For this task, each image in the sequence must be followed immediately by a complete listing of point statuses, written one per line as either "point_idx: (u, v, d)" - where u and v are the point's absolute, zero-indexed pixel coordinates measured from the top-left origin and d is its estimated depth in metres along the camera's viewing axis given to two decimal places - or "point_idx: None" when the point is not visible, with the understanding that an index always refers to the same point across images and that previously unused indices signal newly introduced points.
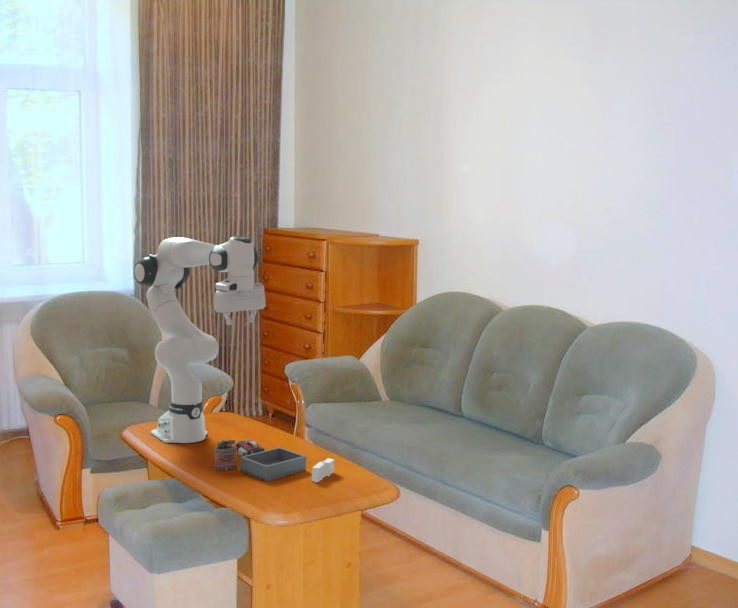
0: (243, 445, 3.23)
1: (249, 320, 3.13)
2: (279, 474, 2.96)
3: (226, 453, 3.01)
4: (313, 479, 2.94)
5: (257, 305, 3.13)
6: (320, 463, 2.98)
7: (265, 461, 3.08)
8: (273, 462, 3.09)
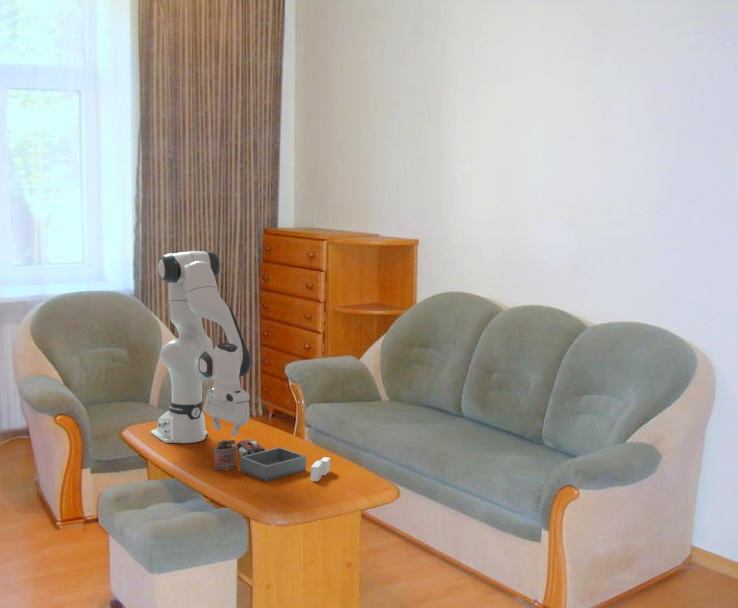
0: (244, 445, 3.23)
1: (219, 427, 3.04)
2: (279, 474, 2.96)
3: (226, 453, 3.01)
4: (312, 478, 2.95)
5: None
6: (317, 462, 2.99)
7: (265, 461, 3.08)
8: (273, 462, 3.09)
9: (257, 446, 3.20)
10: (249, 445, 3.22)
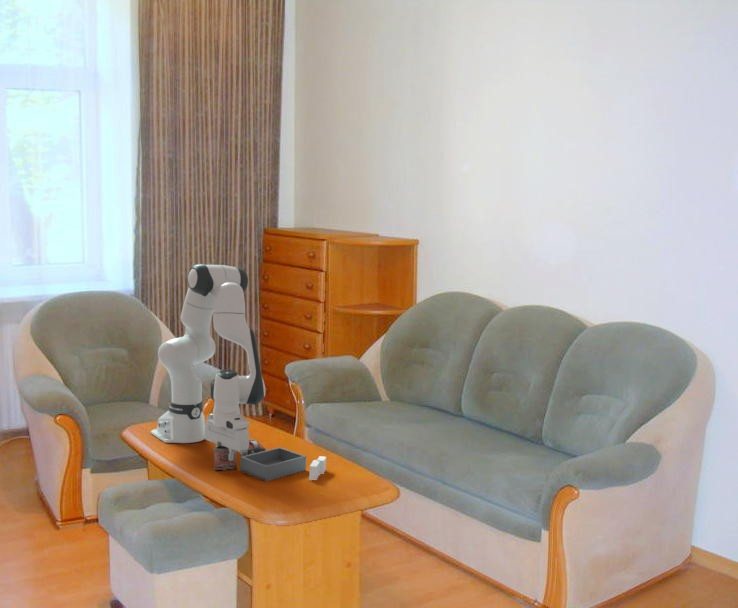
0: None
1: None
2: (279, 474, 2.96)
3: (226, 453, 3.01)
4: (311, 477, 2.95)
5: None
6: (315, 461, 3.00)
7: (265, 461, 3.08)
8: (273, 462, 3.09)
9: (258, 446, 3.20)
10: (250, 445, 3.22)
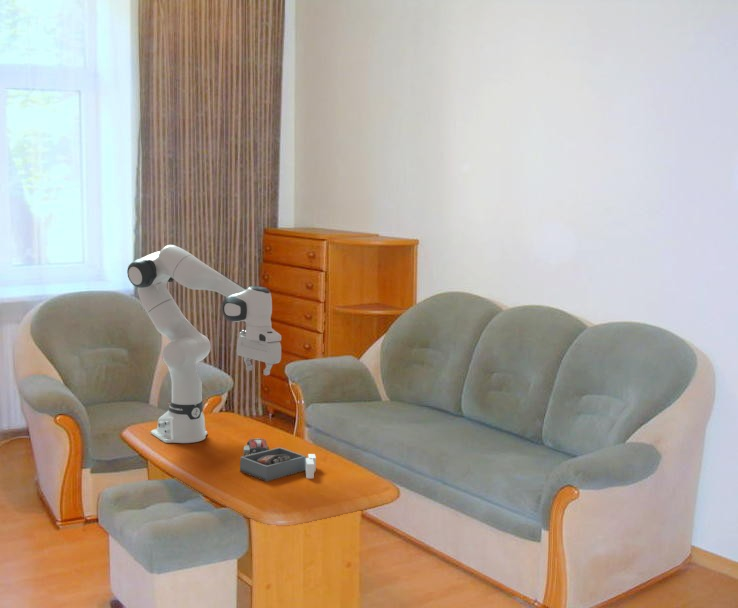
0: (250, 443, 3.25)
1: (250, 368, 3.14)
2: (279, 474, 2.96)
3: None
4: (308, 475, 2.97)
5: None
6: (308, 459, 3.02)
7: None
8: None
9: (260, 445, 3.21)
10: (254, 444, 3.24)
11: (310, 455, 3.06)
